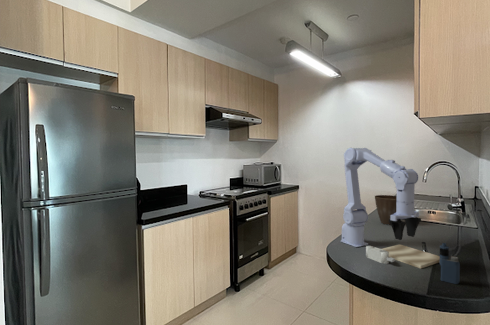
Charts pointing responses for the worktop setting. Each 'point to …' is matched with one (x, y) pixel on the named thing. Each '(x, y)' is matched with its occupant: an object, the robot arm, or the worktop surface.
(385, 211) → the plant pot
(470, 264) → the worktop surface
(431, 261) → the wood pad
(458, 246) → the worktop surface
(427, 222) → the worktop surface
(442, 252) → the vaping device
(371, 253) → the usb connector
